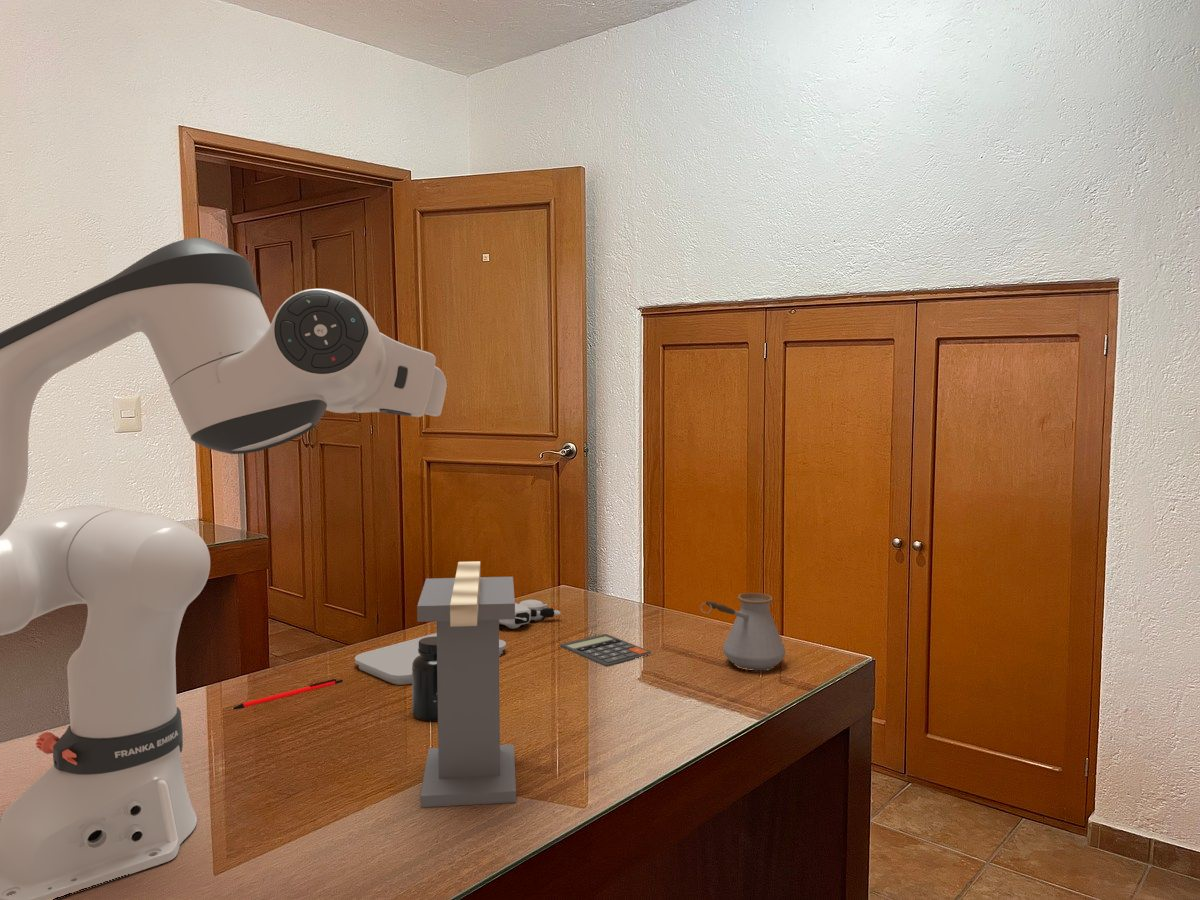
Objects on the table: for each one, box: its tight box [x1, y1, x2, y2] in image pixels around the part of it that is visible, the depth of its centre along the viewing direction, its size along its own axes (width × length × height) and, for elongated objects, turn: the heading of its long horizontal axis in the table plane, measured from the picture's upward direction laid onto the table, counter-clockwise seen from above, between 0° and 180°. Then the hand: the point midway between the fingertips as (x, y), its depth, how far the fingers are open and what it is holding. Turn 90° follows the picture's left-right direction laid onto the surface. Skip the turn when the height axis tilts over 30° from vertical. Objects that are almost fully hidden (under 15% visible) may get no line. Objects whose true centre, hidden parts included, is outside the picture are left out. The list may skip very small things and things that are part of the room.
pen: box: [231, 678, 344, 710], centre depth 150 cm, size 1×19×1 cm, turn 133°
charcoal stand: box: [416, 576, 517, 808], centre depth 119 cm, size 14×12×26 cm
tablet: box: [354, 632, 507, 686], centre depth 168 cm, size 16×26×2 cm, turn 137°
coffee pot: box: [700, 592, 786, 671], centre depth 162 cm, size 21×12×15 cm, turn 137°
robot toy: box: [499, 599, 561, 630], centre depth 192 cm, size 12×4×15 cm
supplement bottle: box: [411, 636, 438, 722], centre depth 142 cm, size 7×7×12 cm
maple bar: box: [450, 560, 481, 627], centre depth 113 cm, size 22×3×2 cm, turn 7°
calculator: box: [559, 633, 652, 668], centre depth 174 cm, size 12×1×15 cm
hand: (354, 388), depth 100 cm, fingers open, 8 cm apart
